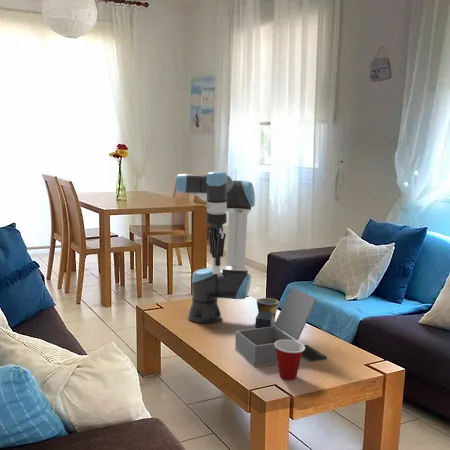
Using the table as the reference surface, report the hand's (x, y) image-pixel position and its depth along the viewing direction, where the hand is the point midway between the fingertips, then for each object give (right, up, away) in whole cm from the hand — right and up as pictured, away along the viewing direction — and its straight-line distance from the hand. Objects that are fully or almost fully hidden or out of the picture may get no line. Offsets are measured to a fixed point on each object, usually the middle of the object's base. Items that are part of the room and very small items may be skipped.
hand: (216, 273), depth 218 cm
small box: (+20, -29, +20) cm, 41 cm away
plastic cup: (+26, -35, -18) cm, 47 cm away
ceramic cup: (+22, -26, +43) cm, 55 cm away
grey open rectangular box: (+19, -32, +1) cm, 37 cm away
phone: (+36, -32, +4) cm, 49 cm away
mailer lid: (+30, -16, +3) cm, 34 cm away
